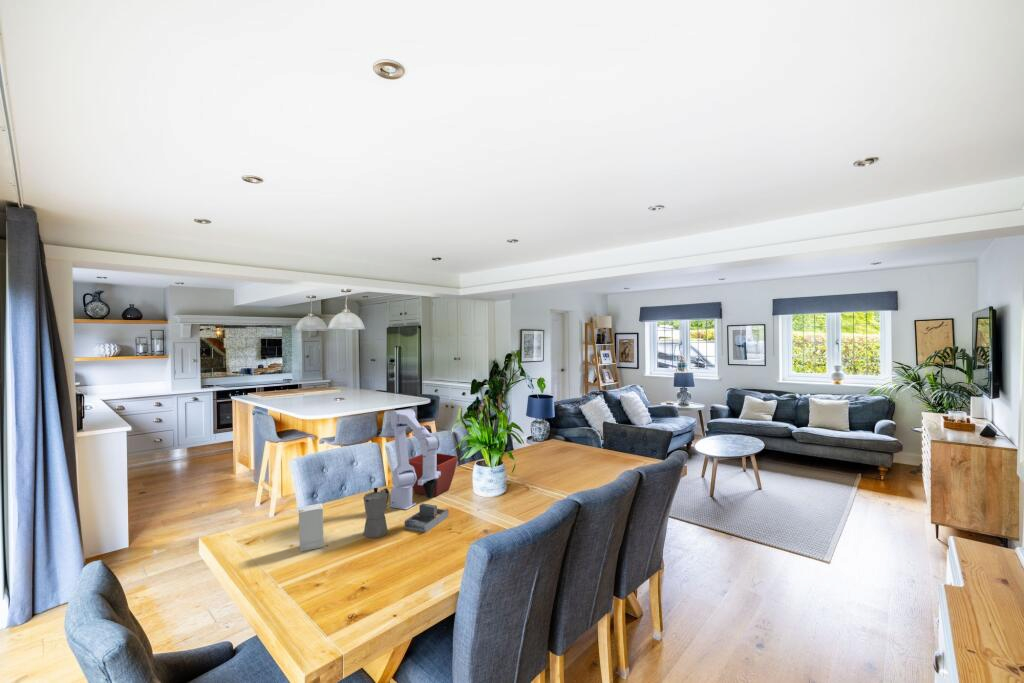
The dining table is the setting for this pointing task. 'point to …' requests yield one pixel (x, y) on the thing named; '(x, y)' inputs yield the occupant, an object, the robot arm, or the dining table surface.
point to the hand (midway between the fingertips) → (429, 497)
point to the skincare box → (311, 527)
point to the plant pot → (443, 464)
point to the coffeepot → (375, 513)
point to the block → (428, 510)
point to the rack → (425, 521)
